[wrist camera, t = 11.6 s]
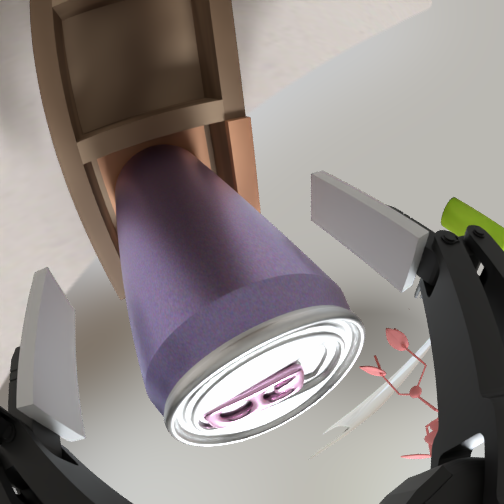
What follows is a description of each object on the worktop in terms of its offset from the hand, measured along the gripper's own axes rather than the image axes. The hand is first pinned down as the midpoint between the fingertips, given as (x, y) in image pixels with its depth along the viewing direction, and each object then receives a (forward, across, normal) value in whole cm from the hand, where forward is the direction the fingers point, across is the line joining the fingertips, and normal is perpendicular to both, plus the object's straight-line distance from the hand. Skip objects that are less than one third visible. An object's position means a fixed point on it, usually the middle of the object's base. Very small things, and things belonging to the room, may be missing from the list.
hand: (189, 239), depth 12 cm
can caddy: (+8, 0, +9) cm, 12 cm away
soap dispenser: (+8, +45, -16) cm, 48 cm away
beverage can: (+7, 0, 0) cm, 7 cm away
